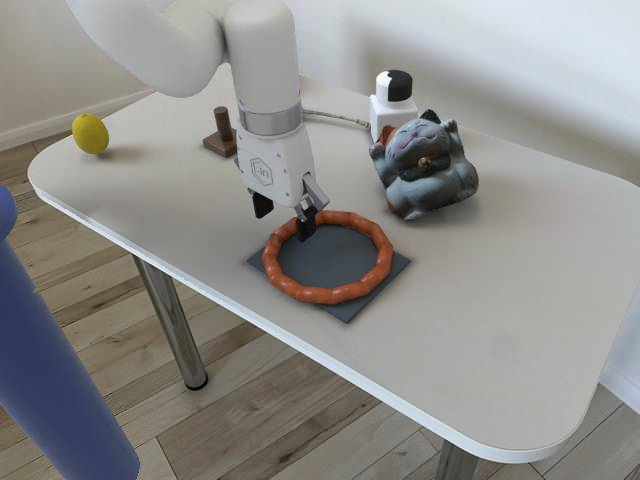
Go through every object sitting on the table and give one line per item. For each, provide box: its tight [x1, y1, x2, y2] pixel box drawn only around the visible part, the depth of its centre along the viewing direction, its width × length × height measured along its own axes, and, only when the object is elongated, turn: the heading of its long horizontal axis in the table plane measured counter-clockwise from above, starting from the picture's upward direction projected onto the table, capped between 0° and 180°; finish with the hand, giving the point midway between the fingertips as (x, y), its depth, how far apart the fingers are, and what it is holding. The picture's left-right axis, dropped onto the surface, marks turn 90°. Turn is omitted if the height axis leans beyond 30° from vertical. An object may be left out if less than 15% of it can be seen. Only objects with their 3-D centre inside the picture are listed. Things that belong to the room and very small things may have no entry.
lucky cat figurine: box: [368, 108, 480, 221], centre depth 83 cm, size 15×12×14 cm
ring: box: [262, 209, 394, 305], centre depth 76 cm, size 18×18×2 cm
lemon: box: [71, 112, 110, 156], centre depth 95 cm, size 6×6×8 cm
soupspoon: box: [302, 108, 371, 132], centre depth 103 cm, size 22×3×7 cm
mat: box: [246, 224, 411, 324], centre depth 77 cm, size 14×18×1 cm
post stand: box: [201, 105, 238, 159], centre depth 97 cm, size 6×6×7 cm
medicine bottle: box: [369, 69, 419, 144], centre depth 96 cm, size 7×7×12 cm
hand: (285, 224), depth 79 cm, fingers open, 7 cm apart
